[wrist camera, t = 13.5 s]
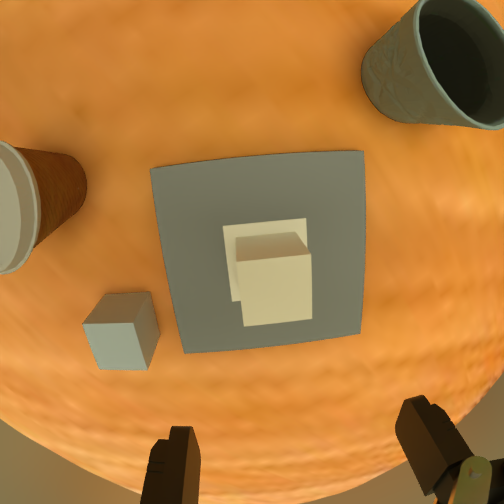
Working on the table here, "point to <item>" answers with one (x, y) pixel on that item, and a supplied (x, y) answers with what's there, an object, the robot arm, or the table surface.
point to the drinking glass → (439, 66)
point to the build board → (258, 223)
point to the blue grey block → (123, 331)
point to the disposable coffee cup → (34, 199)
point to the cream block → (274, 278)
